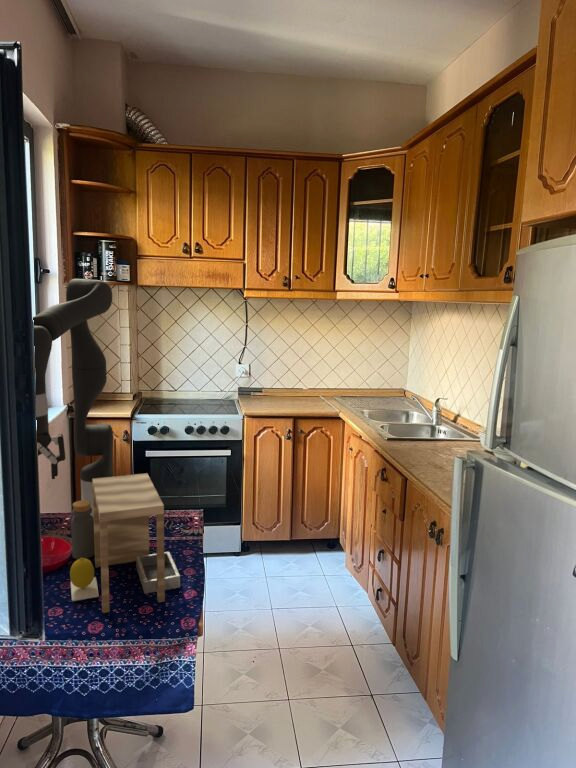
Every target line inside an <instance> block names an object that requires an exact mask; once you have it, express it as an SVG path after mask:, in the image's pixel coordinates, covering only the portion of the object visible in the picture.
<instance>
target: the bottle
mask: <svg viewBox="0 0 576 768" xmlns="http://www.w3.org/2000/svg"><path fill="white" fill-rule="evenodd" d="M90 506H91V502H90V501H87V500H77V501H75V502H73V503H72V508H73V509H72V510H71V513H72V518H71V520H70V524H71V525H70V527H71V529H70V530H71V551H72V552H71V553H72V554H71V555H72V557H73V559H75V560H78V559H80V558H86V559H90V558H92V557H93V556H95V546H94V518H93V516H92V515H90V514H91V513H92V508H91V507H90Z"/></svg>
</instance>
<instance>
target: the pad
mask: <svg viewBox="0 0 576 768" xmlns="http://www.w3.org/2000/svg"><path fill="white" fill-rule="evenodd" d="M70 593H71V602H76V601H83V600H87V599H93V598H98V597H100V596H99V589H98V581H97V577H96V576H94V578H93V580H92V582H91V583H90V584H89V585H88V586H86V587H85V588H84V589H81V588H78V587H76V586H74V585H73V584H72V582H71V581H70Z"/></svg>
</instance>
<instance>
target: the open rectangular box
mask: <svg viewBox="0 0 576 768" xmlns="http://www.w3.org/2000/svg"><path fill="white" fill-rule="evenodd" d="M175 563H176V562H175V561H174V559H173V557H172V554H171V553H170V551H164V576H165V591H168V590H172V589H177V588H181V575H180V573H179V570H178V568H177V565H176V564H175ZM135 564H136V565H135V566H136V571H137V574H138V576H139V577H138V578H139V580H140V584H141V586H142V590H143V593H144V595H145V594H146V595H147V594H150V593H151V594H152V593H157V552H156V553H152V554H151V553H149V555H143V556H137V557H136V561H135Z"/></svg>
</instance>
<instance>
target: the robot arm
mask: <svg viewBox="0 0 576 768" xmlns="http://www.w3.org/2000/svg"><path fill="white" fill-rule="evenodd" d="M65 296H66V297H65V298H66V299H65V301H64V302H61V303H58V304H55V305H54V304H53V305H51V306H49V307H47V308H46V309H44V310H42V311H40V313H38V314H36V315H35V316H32V317H33V320H34V346H35V368H36V420H37V444H38V456H37V457H39V456H40V455H43V456H44V457H45V458H46V459H47V460H49V462H50V466H51V467H50V468H51V469H50V472H51V480H56V477H58V475H59V469H58V465H59V463H60V462H63V461H66V449H65V440H64V435H63V434H62V433H59V434H57V435H53V436H51V435H50V430H49V429H50V428H49V427H50V426H49V425H50V424H49V407H48V405H49V403H48V398H47V391H46V389H47V387H46V373H47V368H48V363H49V360H50V359H49V358H50V357H51V356H50V355H51V352H52V346H53V342H54V341H56V340H57V339H59V338H60V337H61V336H63V335H64V334H66V332H68V331H69V332H70V333H69V334H70V346H71V377H72V389H73V401H74V402H73V403H74V408H73V411H74V412H73V414H74V415H73V420H74V421H73V422H74V423H73V446H74V452H75V454H76V455H77V456H78V457H96V456H101V457H100V458H99V459H97V460H96V461H94V462H92V463H90V464H87V465H84V466H83V467H82V468H81V469H80V494H81V495H80V498H81V500H87V501H90V502H91V506H90V507H91V508H92V513H91V514H90V515H92V516H93V518H94V514H93V483H92V479H94V478H104V477H114V464H113V462H114V461H113V458H114V455H113V454H114V453H113V452H114V450H113V449H114V431H113V427H112V426H111V425H110V423H109V424H108V423H99V424H98V423H97V424H86V421H87V417H88V414H89V413H90V410H91V409H92V407H93V405H94V403H95V402H96V400H97V398H98V397H99V396H100V395H101V393H102V392H103V390H104V388H105V386H106V384H107V360H106V356H105V354H104V352H103V351H102V348H101V347H100V345H99V343H97V341H96V340H95V338H94V336H93V334H92V332H91V330H90V327H89V324H88V323H89V322H88V320H91V319H93V318H95V317H98V316H100V315H103V314H105V313H106V312H108V311H109V309H110V307H111V306H112V304H113V292H112V288H111V286H110V285H109V284H108V283H107V282H106V281H103V280H100V279H99V280H98V279H87V278H86V279H85V278H72V279H70V280H69V282H68V284H67V286H66V293H65ZM52 442H53V443H54V445H55V446H58V453H59V454H57V455H55V454H54V453H53V452H52V450H51V449H50V448H49V447H48V446H50V444H51V443H52ZM81 500H80V501H81Z"/></svg>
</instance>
